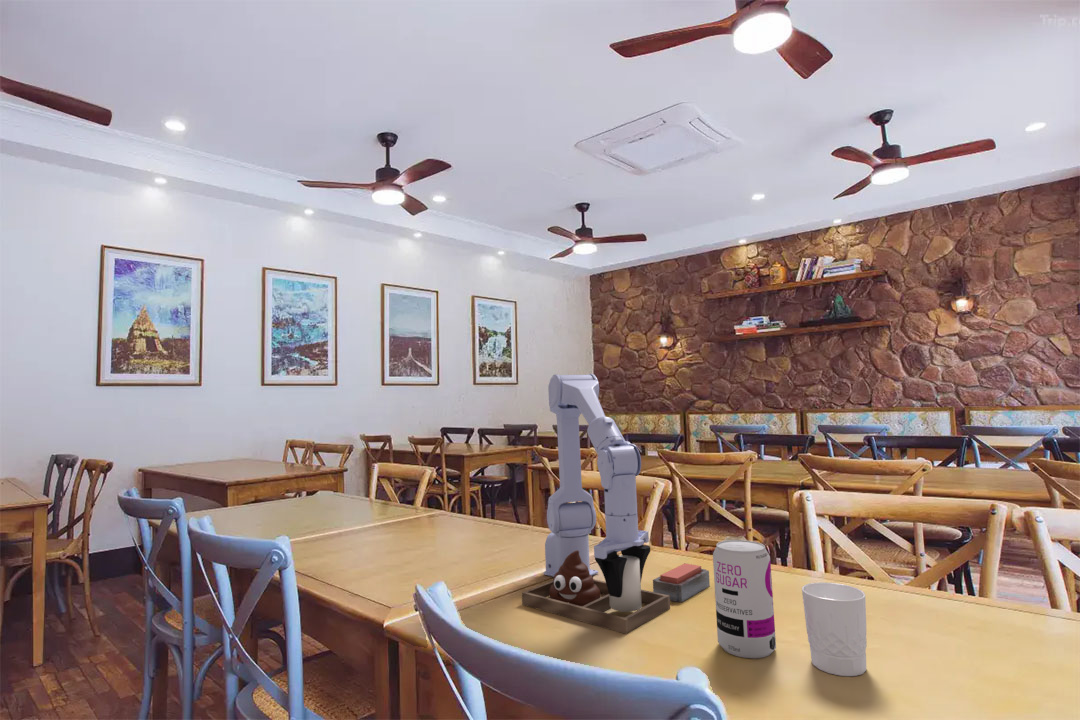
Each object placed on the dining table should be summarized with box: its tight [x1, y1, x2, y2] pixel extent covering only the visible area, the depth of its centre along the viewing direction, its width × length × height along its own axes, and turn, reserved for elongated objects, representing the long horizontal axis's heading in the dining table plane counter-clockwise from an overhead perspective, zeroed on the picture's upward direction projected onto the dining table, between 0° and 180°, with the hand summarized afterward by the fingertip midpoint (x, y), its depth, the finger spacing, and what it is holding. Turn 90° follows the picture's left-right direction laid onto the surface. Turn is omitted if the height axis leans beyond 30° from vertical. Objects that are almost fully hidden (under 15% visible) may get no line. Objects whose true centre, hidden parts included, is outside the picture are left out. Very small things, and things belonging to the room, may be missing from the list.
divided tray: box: [521, 578, 671, 635], centre depth 105 cm, size 23×14×2 cm, turn 48°
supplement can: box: [712, 540, 777, 659], centre depth 85 cm, size 8×8×15 cm
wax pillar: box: [609, 554, 643, 613], centre depth 101 cm, size 6×6×8 cm
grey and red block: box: [652, 568, 711, 603], centre depth 112 cm, size 6×12×3 cm, turn 138°
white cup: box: [801, 582, 867, 677], centre depth 79 cm, size 8×8×10 cm
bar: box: [659, 563, 702, 584], centre depth 112 cm, size 4×10×3 cm, turn 138°
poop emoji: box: [548, 550, 601, 606], centre depth 109 cm, size 10×8×9 cm
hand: (624, 591), depth 100 cm, fingers closed on wax pillar, 5 cm apart
